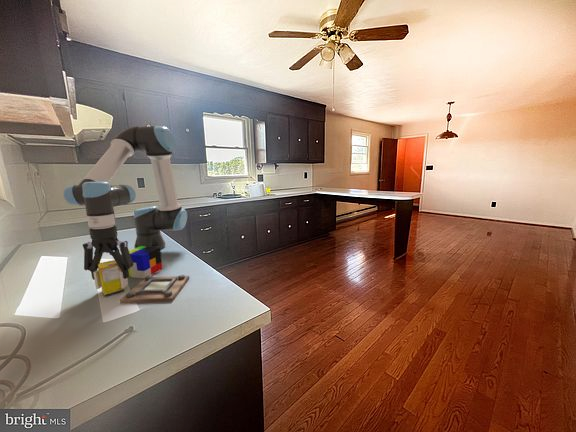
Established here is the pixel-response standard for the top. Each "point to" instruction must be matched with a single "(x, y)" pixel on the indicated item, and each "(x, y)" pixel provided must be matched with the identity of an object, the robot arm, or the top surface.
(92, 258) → the robot arm
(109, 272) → the supplement box
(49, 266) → the top surface
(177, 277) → the base plate
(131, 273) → the puzzle toy
